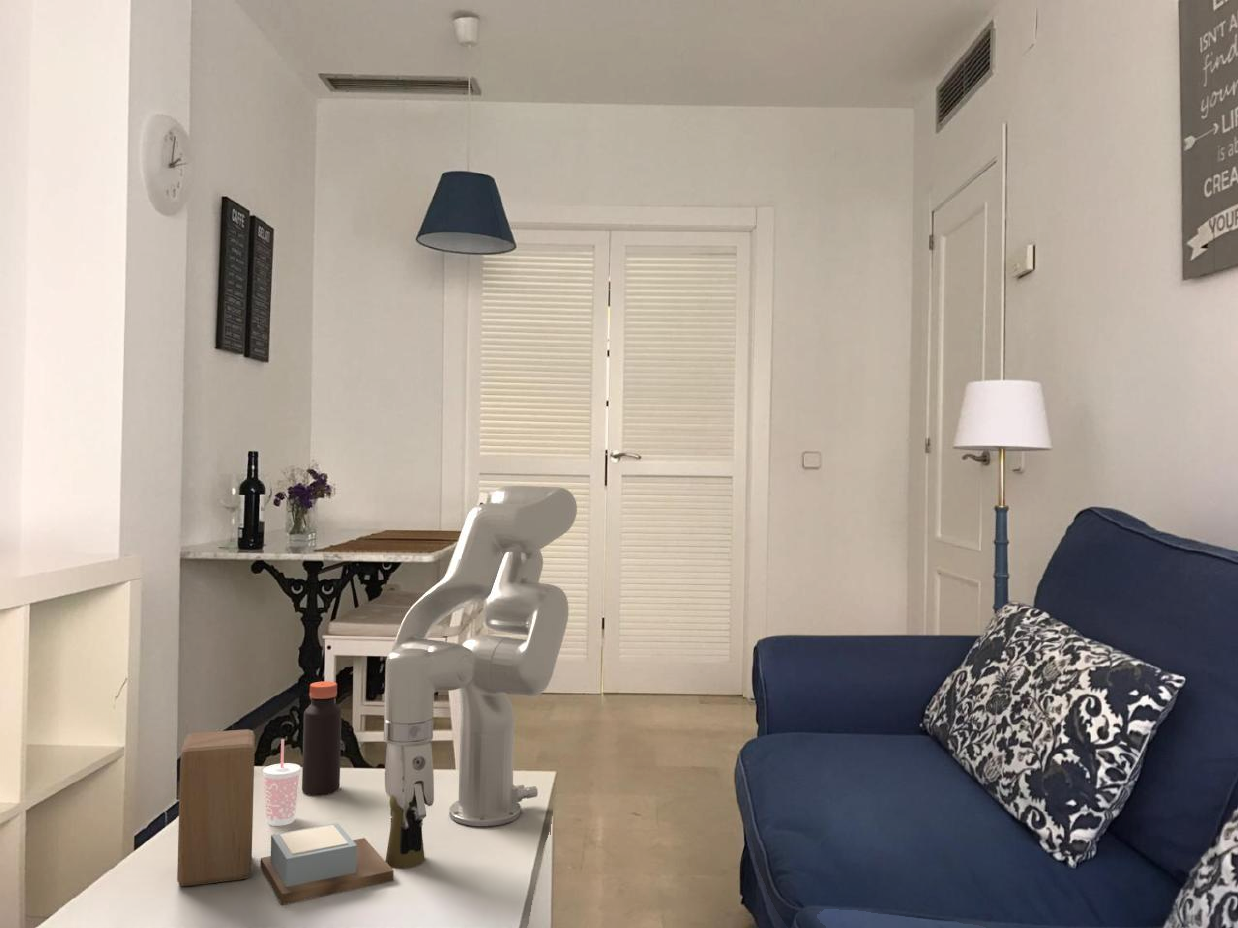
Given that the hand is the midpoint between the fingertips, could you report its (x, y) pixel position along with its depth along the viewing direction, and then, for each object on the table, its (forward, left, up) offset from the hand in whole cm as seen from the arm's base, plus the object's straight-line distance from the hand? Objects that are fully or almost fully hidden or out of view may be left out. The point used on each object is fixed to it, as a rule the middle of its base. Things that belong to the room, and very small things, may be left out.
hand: (405, 845), depth 147 cm
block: (+26, -10, -3) cm, 28 cm away
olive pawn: (0, 0, -2) cm, 2 cm away
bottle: (+3, -38, -2) cm, 38 cm away
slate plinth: (+14, -1, -1) cm, 14 cm away
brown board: (+12, -1, -2) cm, 12 cm away
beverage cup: (+13, -26, -3) cm, 29 cm away
